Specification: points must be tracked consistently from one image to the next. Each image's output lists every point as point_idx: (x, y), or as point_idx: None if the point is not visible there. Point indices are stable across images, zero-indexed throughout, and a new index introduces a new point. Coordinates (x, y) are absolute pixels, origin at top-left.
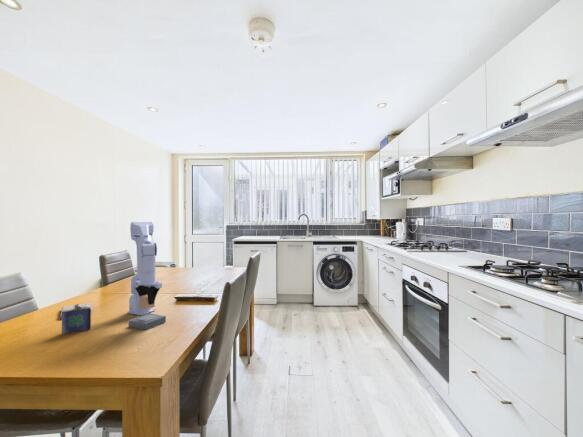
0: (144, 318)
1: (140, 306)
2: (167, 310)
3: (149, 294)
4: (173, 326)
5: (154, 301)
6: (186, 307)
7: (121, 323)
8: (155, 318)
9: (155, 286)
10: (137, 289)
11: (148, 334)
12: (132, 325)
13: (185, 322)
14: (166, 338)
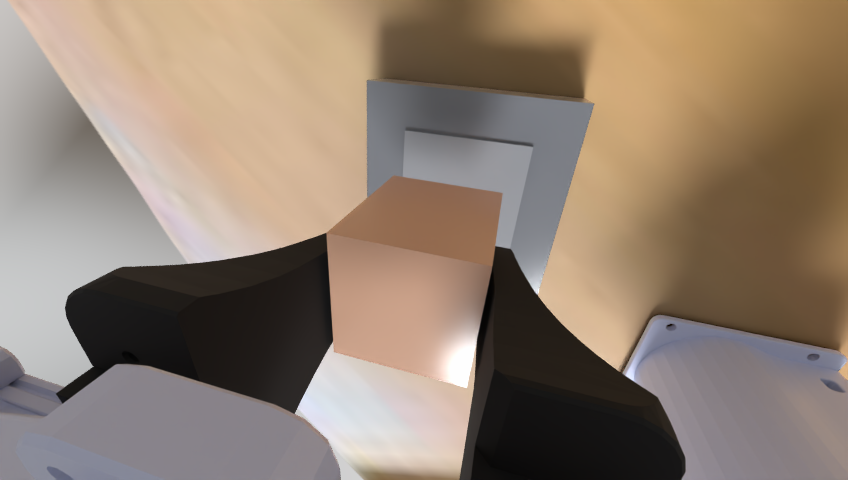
0: (472, 180)
1: (487, 198)
2: None
3: (238, 259)
4: (282, 192)
5: None
6: (453, 442)
7: (714, 136)
8: None
9: (47, 412)
10: (556, 371)
11: (298, 17)
12: (533, 94)
13: None
14: (151, 10)
